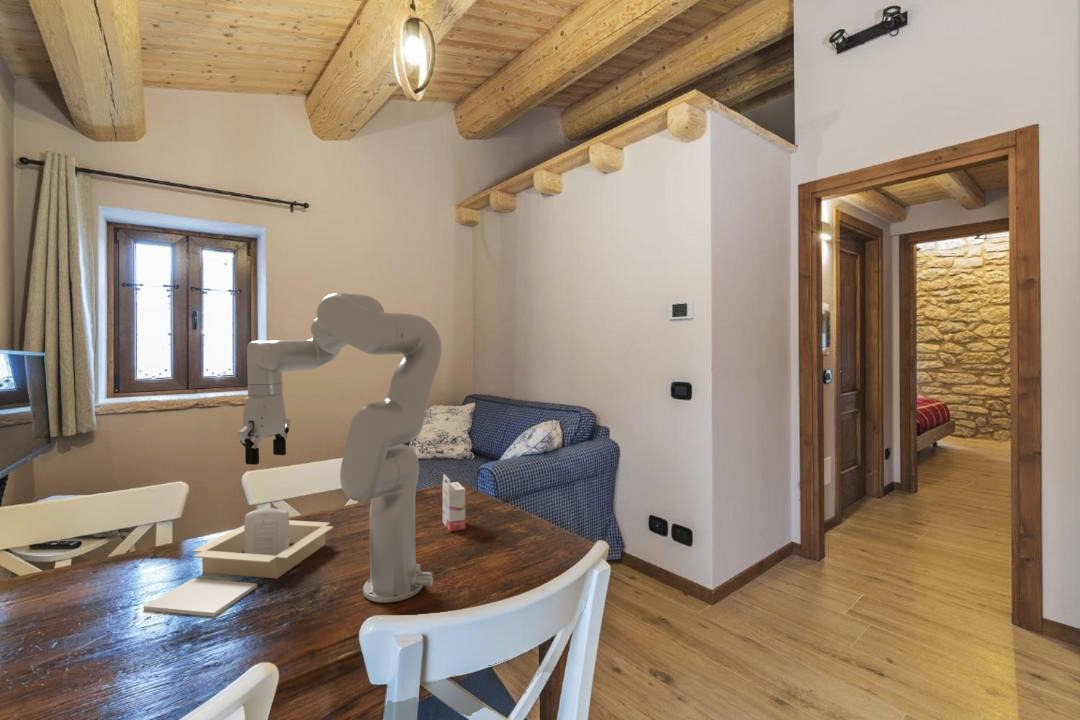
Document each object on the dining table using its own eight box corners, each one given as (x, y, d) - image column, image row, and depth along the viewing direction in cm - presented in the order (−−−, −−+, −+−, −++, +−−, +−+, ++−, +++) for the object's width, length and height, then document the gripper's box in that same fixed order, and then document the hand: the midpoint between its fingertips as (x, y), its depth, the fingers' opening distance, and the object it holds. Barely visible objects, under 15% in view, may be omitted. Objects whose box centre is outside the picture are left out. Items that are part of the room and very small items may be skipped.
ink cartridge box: (466, 529, 145) (466, 478, 145) (449, 532, 143) (449, 480, 143) (458, 519, 153) (457, 471, 153) (442, 522, 151) (441, 473, 150)
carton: (339, 541, 137) (338, 523, 137) (279, 584, 113) (279, 562, 113) (258, 536, 141) (257, 518, 140) (184, 576, 117) (183, 555, 116)
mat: (257, 587, 112) (256, 583, 112) (213, 616, 100) (213, 612, 100) (193, 581, 114) (192, 578, 114) (143, 610, 102) (143, 606, 102)
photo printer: (292, 553, 130) (291, 505, 129) (286, 560, 125) (285, 510, 125) (249, 555, 128) (248, 507, 128) (241, 562, 124) (240, 512, 123)
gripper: (275, 386, 134) (276, 450, 135) (224, 394, 117) (226, 467, 118) (301, 387, 133) (302, 452, 134) (253, 395, 116) (255, 469, 117)
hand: (266, 459), depth 126 cm, fingers open, 9 cm apart
